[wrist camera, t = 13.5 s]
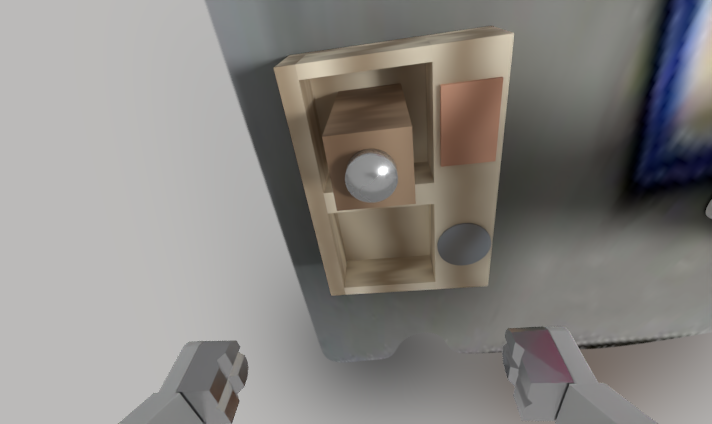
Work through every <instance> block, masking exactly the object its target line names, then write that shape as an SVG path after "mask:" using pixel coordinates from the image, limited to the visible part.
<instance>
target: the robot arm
mask: <svg viewBox="0 0 712 424" xmlns="http://www.w3.org/2000/svg"><path fill="white" fill-rule="evenodd" d="M706 216H707V217H709V218H711V219H712V200H711V201H710V203H709V204H708V206H707V209H706ZM505 338H506V341H507V344H505V345H504V346H503V364H504V368H505V372H506V375H507V378H508V380H509V381H510V382H511V383H512V384H513V385H514V386H515V390H514V395H513V396H514V399H515V402H516V405H517V408H518V411H519V414H520V417H521V420H522V421H556V422H555V423H556V424H658V423H657V422H655V421H654V420H653V419H651V418H650V417H649V416H647V415H646V414H645V413H643V412H642V411H641V410H639V409H638V408H637V407H636V406H634V405H633V404H631V403H630V402H629V401H628V400H626V399H625V398H624V397H622V396H621V395H620V394H618V393H617V392H616V391H614V390H613V389H612V388H611V387H609V386H608V385H607V384H605V383H598V382H597V380H596V378H595V376H594V374H593V372H592V371H591V369H590V367H589V365H588V364H587V362H586V360H585V359H584V357H583V355H582V353H581V351H580V350H579V348H578V346H577V344H576V342H575V341H574V339H573V337H572V335H571V334H570V332H569V330H568V329H567V328H566V327H565V326H554V327H526V328H508V329H507V330H506V333H505ZM239 349H240V346H239V344H238V343H237V341H197V342H188V343H187V344H186V345H185V346H184V347H183V349H182V350H181V352H180V354H179V356H178V358H177V360H176V361H175V363H174V365H173V367H172V369H171V371H170V372H169V374H168V376H167V378H166V380H165V381H164V383H163V385H162V387H161V389H160V391H159V392H158V393H153V394H152V395H151V396H150V397H149V398H148V399H146V400H145V401H144V402H143V403H142V404H141V405H139V406H138V407H137V408H136V409H135V410H134V411H132V412H131V413H130V414H129V415H128V416H127V417H126V418H124V419H123V420H122V421H121V422H120V423H118V424H232V422H233V419H234V416H235V413H236V410H237V407H238V404H239V398H238V395H237V394H238V393H239V392H240V390H241V389H242V388H243V387H244V386H245V383H246V380H247V376H248V363H247V359H246V357H245V355H243V354H241V353H240V352H238V351H239Z"/></svg>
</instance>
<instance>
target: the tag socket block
mask: <svg viewBox="0 0 712 424" xmlns="http://www.w3.org/2000/svg"><path fill="white" fill-rule="evenodd" d="M513 41H514V33H512V32H509V31H506V30H503V29H500V28H497V27H494V26H486V27H479V28H473V29H466V30H459V31H452V32H445V33H438V34H432V35H425V36H418V37H411V38H404V39H397V40H391V41H384V42H377V43H370V44H363V45H356V46H350V47H343V48H336V49H329V50H322V51H315V52H308V53H302V54H295V55H289V56H288V57H286V58H285V59H284V60H283V61H281V62H280V63H279V64H278V65H276V66H275V67H274V72H275V76H276V80H277V84H278V87H279V91H280V95H281V99H282V103H283V107H284V111H285V115H286V119H287V123H288V127H289V131H290V135H291V139H292V143H293V147H294V151H295V155H296V158H297V162H298V166H299V170H300V174H301V178H302V182H303V186H304V190H305V194H306V198H307V202H308V206H309V210H310V214H311V218H312V222H313V226H314V229H315V233H316V237H317V241H318V245H319V249H320V253H321V257H322V261H323V265H324V269H325V273H326V277H327V281H328V285H329V289H330V293H331V296H333V295H349V294H366V293H382V292H399V291H415V290H432V289H448V288H465V287H481V286H488V280H489V271H490V261H491V252H492V242H493V233H494V223H495V213H496V204H497V194H498V185H499V175H500V165H501V156H502V146H503V137H504V127H505V118H506V108H507V98H508V89H509V79H510V70H511V60H512V50H513ZM398 83H401V86H402V90H403V94H404V98H405V101H406V105H407V109H408V113H409V116H410V120H411V124H412V134H413V154H414V175H415V196H416V204H410V205H399V206H388V207H376V208H365V209H354V210H343V211H337V209H336V204H335V199H334V194H333V189H332V184H331V179H330V174H329V169H328V164H327V159H326V154H325V149H324V144H323V139H322V136H323V133H324V130H325V127H326V124H327V122H328V119H329V116H330V113H331V110H332V108H333V105H334V102H335V99H336V96H337V94H338V91H345V90H352V89H360V88H368V87H375V86H383V85H390V84H398Z"/></svg>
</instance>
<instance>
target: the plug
mask: <svg viewBox="0 0 712 424" xmlns="http://www.w3.org/2000/svg"><path fill="white" fill-rule="evenodd" d="M322 139H323V144H324V149H325V154H326V159H327V164H328V169H329V174H330V179H331V184H332V189H333V194H334V199H335V204H336V209H337V211H343V210H354V209H365V208H376V207H388V206H399V205H410V204H416V196H415V175H414V154H413V134H412V124H411V120H410V116H409V113H408V109H407V105H406V101H405V98H404V94H403V90H402V86H401V83H398V84H390V85H383V86H375V87H368V88H360V89H352V90H345V91H338V94H337V96H336V99H335V102H334V105H333V108H332V110H331V113H330V116H329V119H328V122H327V124H326V127H325V130H324V133H323V136H322Z"/></svg>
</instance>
